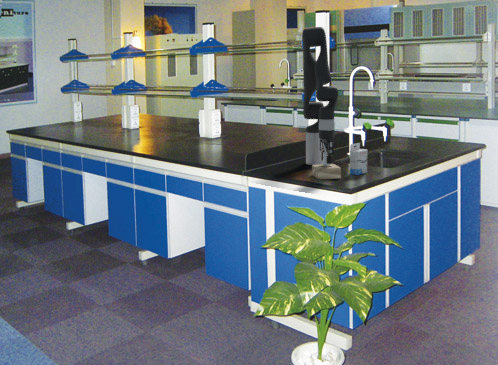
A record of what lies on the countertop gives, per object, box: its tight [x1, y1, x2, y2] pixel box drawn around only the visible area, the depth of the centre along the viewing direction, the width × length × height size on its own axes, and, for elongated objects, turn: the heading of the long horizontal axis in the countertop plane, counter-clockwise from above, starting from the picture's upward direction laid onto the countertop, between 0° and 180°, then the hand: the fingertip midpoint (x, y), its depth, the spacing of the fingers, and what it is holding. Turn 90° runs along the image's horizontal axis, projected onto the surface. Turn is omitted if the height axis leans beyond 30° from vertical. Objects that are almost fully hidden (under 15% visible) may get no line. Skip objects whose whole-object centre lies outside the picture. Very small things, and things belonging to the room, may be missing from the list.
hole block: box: [311, 163, 342, 180], centre depth 293 cm, size 11×11×5 cm
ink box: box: [349, 142, 368, 176], centre depth 298 cm, size 9×5×15 cm, turn 136°
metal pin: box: [323, 152, 330, 167], centre depth 292 cm, size 3×3×12 cm
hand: (326, 162), depth 292 cm, fingers open, 8 cm apart
